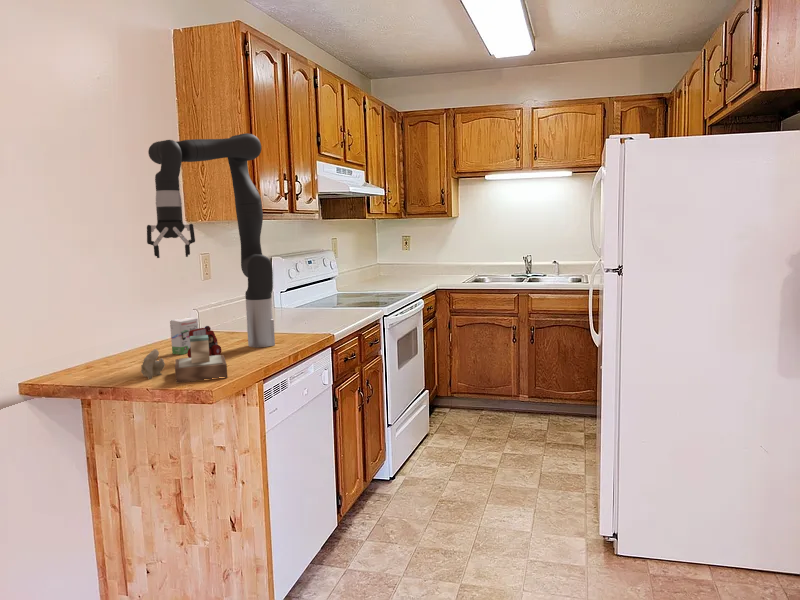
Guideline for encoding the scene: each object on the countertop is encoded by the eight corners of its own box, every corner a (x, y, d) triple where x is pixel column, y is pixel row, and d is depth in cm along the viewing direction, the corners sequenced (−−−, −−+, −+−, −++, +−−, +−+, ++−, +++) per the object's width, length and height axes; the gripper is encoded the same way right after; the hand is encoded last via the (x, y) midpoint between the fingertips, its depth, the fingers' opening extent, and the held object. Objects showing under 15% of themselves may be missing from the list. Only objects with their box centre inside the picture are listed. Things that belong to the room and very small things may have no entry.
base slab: (224, 367, 192) (223, 354, 191) (227, 377, 179) (226, 363, 178) (176, 372, 187) (175, 358, 187) (175, 383, 174) (174, 368, 173)
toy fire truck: (225, 354, 212) (223, 324, 211) (201, 362, 201) (199, 330, 200) (209, 353, 215) (207, 323, 214) (184, 361, 204) (182, 329, 202)
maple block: (209, 358, 186) (207, 334, 185) (209, 361, 181) (208, 337, 180) (191, 359, 184) (189, 336, 183) (191, 363, 179) (189, 339, 178)
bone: (148, 366, 189) (159, 340, 186) (165, 378, 188) (176, 351, 185) (129, 375, 181) (140, 347, 178) (146, 387, 180) (157, 359, 177)
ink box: (181, 355, 213) (179, 321, 212) (171, 353, 216) (169, 320, 214) (200, 350, 221) (198, 317, 219) (190, 349, 223) (188, 316, 222)
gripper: (192, 205, 200) (195, 256, 202) (145, 206, 196) (149, 257, 198) (193, 204, 193) (196, 256, 195) (143, 205, 189) (147, 258, 191)
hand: (172, 257), depth 196 cm, fingers open, 8 cm apart
